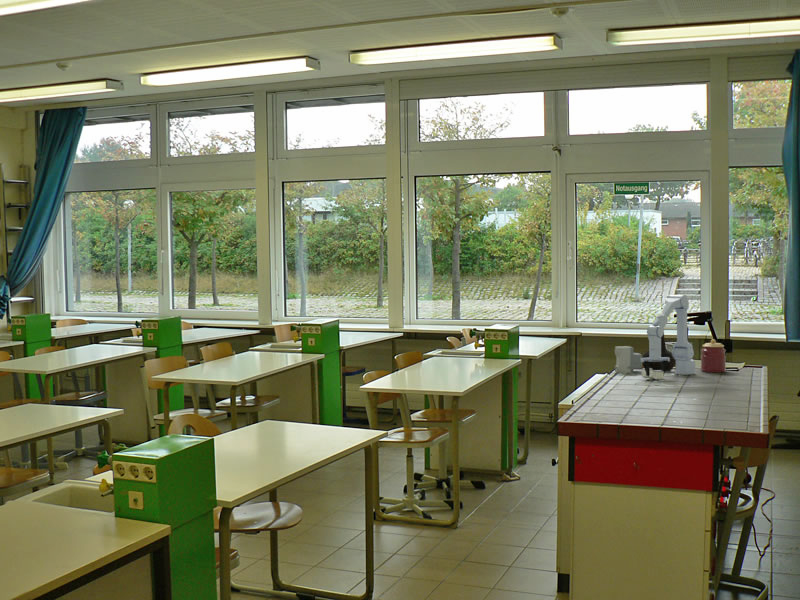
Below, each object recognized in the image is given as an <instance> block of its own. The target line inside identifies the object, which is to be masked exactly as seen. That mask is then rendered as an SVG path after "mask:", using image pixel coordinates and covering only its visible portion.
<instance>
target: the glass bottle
mask: <svg viewBox="0 0 800 600" xmlns="http://www.w3.org/2000/svg"><path fill="white" fill-rule="evenodd" d="M665 342H666V341H665V332H664V333H663V335H662V337H661V357H669V358H670V361H668V362H669V364H668V365H667V367H666V370H665V372H668V371H669V372H671V371H672V370H673V368H674V367H676V359H674V357H673V356H672V351H669V350H668V349H667V347H666V343H665ZM648 357H649V350H647V351H646V352H644V353H643V355H642V358H648ZM652 361H653V360H652ZM660 362H661V361H657V362H649V363H650V368H651V369H653V370H661V365H660ZM642 366H643V364H642Z"/></svg>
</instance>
